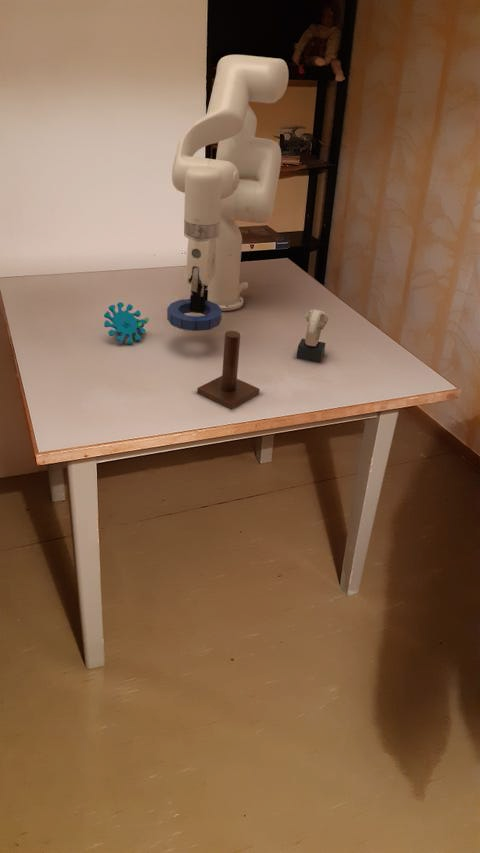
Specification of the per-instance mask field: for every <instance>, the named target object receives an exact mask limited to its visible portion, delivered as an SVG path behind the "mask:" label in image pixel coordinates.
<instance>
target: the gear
mask: <svg viewBox="0 0 480 853" xmlns="http://www.w3.org/2000/svg"><path fill="white" fill-rule="evenodd" d="M124 305H125V304H124V303H123V302H121V301H119V302H117V304H116V306H115V304H110V305H109V306H108V310H109V311H105V313H104V314H103V317H104V318H106V319H107V320H105V321H104V323H103V327H104V328H112V329H109V330H108V332H107V333H108V335H109V337H113V336H114V335H117V334H120V335H118V336H117V337H116V339H115V340H116V342H118V343H120V344H121V343H122V342H123V341H124V337H125V336H127V337H128V338H127V339H125V343H126V344H128V345H132V344H133V342H134V341H135V342H140V341H141V339H142V335H144V334H145V333H146V329H145V328H144V327H145V325H147V323H148V322H149V321H150V319H149V317H144V318H142V319H141V318H140V319H139V317H141V315H142V313H141V311H140V310H136V311H135V312H129V311H132V310H133V309H134V306H133V305H132V304H131V303H128V304H127V306H126V309H125V310H123V309H122V308H123V307H124ZM116 307H117V312H116ZM111 313H112V315H111ZM109 320H110V321H109ZM138 332H139V333H138ZM139 334H140V335H139ZM133 335H134V341H133Z"/></svg>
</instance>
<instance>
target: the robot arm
mask: <svg viewBox="0 0 480 853" xmlns="http://www.w3.org/2000/svg"><path fill="white" fill-rule="evenodd" d="M288 84H289V68H288V65H287V62H286V61H285V60H284V59H282V58H275V57H266V56H257V55H247V54H228V55H225V56H223V57H221V58H220V59H219V60H218V62H217V65H216V73H215V77H214V82H213V86H212V89H211V90H212V91H211V94H210V99H209V103H208V107H207V112H206V114H204V115H203V116H202V117H201V118H199V119H197V121H194V123H193V124H191V126H190V127H189V128H187V130H185V132H184V133H183V134H182V136H181V137H180V139H179V142H178V144H177V146H176V147H177V148H176V152H175V156H174V160H173V165H172V170H171V182H172V185H173V187H174V188H175V190H176V191H178V192H181V193H183V194H184V212H183V213H184V216H183V236H184V237H185V238H187V240H188V241H187V251H186V252H187V253H186V282H187V284H189V285H190V298H189V299H190V311H192V312H193V313H194V312H200V313H199V314H202V313H203V312H204V308H205V300H206V301H207V300H208V301H210V302H213V303H215V304H217V305H218V306H219V307H220V308H221V309H222V312H229V311H235V310H238V309H240V308H241V307H243V306H244V298H243V297H242V295H241V292H242V291H244V290H247V289H249V283H248V282H246V281H243V282H241V283H240V275H241V259H242V248H243V235H242V233H241V230H240V228H239V226H238V224H237V223H236V222H237V221H238V222H246V223H254V224H265V223H267V222H269V221H270V220H271V218H272V215H273V213H274V208H275V203H276V196H277V191H278V184H279V178H280V173H281V167H282V166H281V165H282V150H281V147H280V144H279V143H278V142H277V141H275V140H273V139H270V138H263V137H258V136H257V137H256V133H257V127H258V118H257V116H256V113H255V111H254V110H253V109H252V107H251V105H250V104H249V103H250V102H253V103H261V104H262V103H263V104H275V103H277V102H278V101H279V100H280V99H281V98H282V97H284V95H285V93H286V90H287V88H288ZM216 143H217V149H216V155H215V156H216V157H215V159H213V158H208V157H207V158H206V157H199V156H194V155H195V154H196V153H197V152H198V151H200V150H201V149H202V148H205V147H207V146H209V145H212V144H213V145H214V144H216Z"/></svg>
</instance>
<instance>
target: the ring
mask: <svg viewBox="0 0 480 853" xmlns="http://www.w3.org/2000/svg"><path fill="white" fill-rule="evenodd" d="M166 312H167V313H166V320H167V322H168V323H169V324H170V325H171V326H173V327H175V328H177V329H180V330H184V331H190V332H203V331H210V330H213V329H215V328H217V327H219V326H221V325H220V324H221V322H222V321H223V320H222V318H223V311H222V309H221V308H220V307H219V306H218V305H217V304H215V303H213V302H210V301H208V300H207V301H206V300H205V308H204V312H203V313H200V312H192V311H190V298H181V299H178V300H176V301H173V302H171V303H170V304H169V305H168V306H167V309H166ZM192 313H194V314H202V315H187V314H192Z"/></svg>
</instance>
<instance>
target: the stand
mask: <svg viewBox="0 0 480 853" xmlns="http://www.w3.org/2000/svg"><path fill="white" fill-rule="evenodd" d="M240 345H241V332H239V331H237V330H228V331H225V332H224V343H223V357H222V371H221V372H222V375H221V376H218V377H216V378H215V379H212V380H210V381H209V382H207V383H205V384H202V385H200V386H198V387H197V389H196V393H197V394H198V395H201V396H203V397H204V398H206V399H209V400H211V401H213V402H215V403H217V404H219V405H221V406H223V407H225V408H227V409H229V410H233V409H235V408H237V407H238V406H240V405H242V404H244V403H245V402H247V401H250V400H251V399H252V398H254V397H256V396H258V395H259V394H260V390H261V389H260V388H259V387H256V386H254V385H252V384H251V383H247V382H245V381H243V380H241V379H239V378H238V370H239V360H240V359H239V358H240Z"/></svg>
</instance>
